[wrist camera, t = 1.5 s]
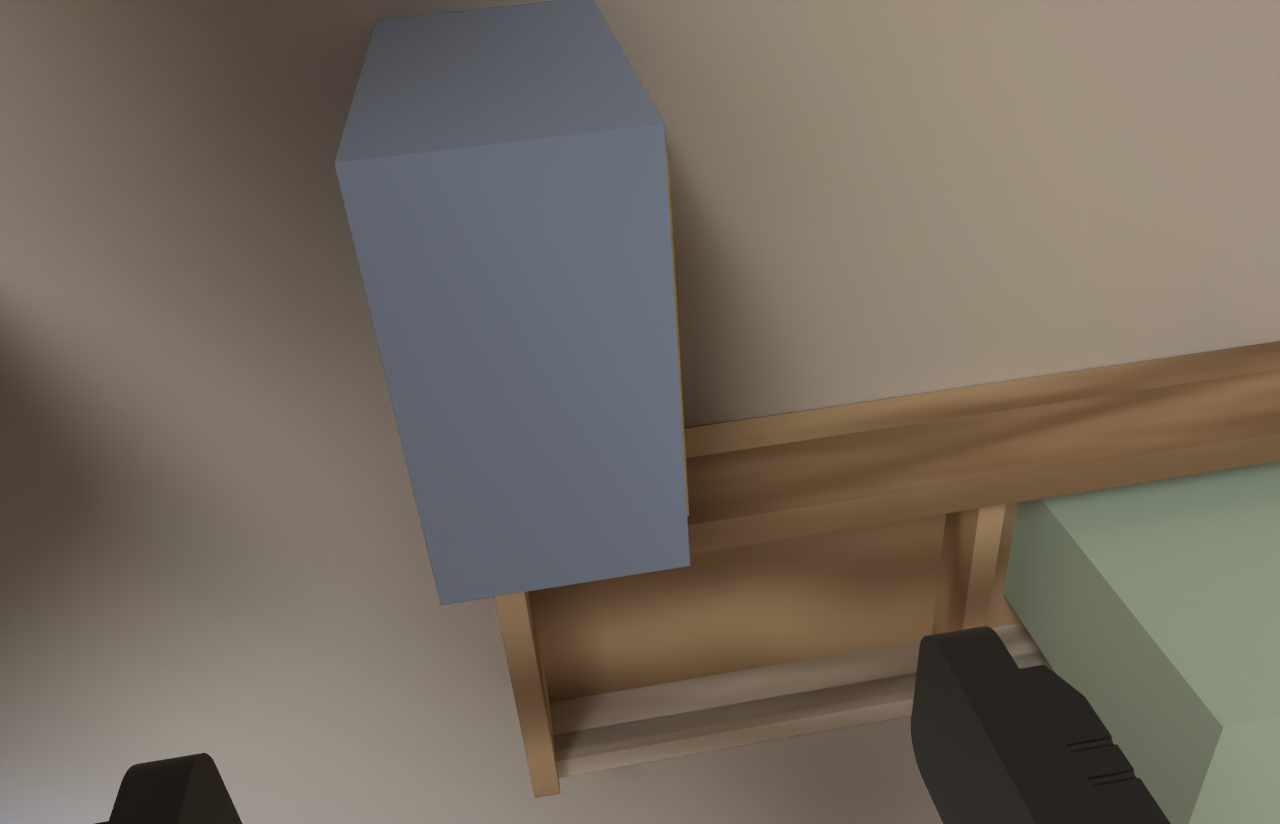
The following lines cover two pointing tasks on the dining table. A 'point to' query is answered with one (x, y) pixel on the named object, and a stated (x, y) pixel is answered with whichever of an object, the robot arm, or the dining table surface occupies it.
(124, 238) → the dining table surface
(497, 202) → the tea box
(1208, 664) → the sage box
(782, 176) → the dining table surface
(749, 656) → the shelf
